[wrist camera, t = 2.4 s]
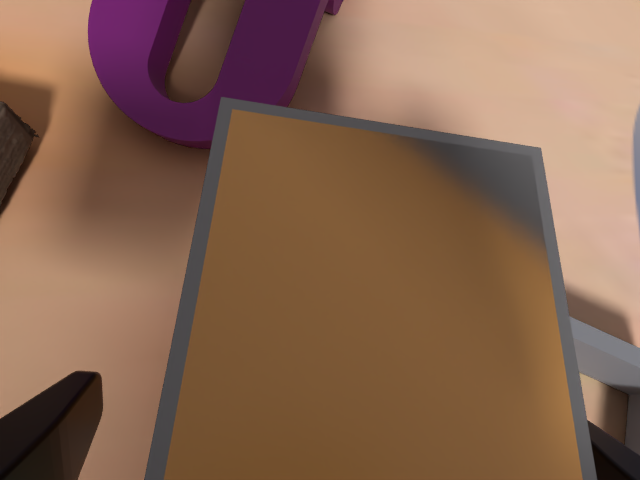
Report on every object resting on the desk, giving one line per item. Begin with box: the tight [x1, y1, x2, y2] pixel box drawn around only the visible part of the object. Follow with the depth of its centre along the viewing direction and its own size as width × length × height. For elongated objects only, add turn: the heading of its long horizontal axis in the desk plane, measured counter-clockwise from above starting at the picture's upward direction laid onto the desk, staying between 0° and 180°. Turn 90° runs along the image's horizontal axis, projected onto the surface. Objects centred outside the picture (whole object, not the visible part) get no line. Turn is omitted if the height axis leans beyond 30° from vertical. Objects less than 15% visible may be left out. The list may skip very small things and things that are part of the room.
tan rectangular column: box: [144, 97, 597, 480], centre depth 11 cm, size 6×6×12 cm
